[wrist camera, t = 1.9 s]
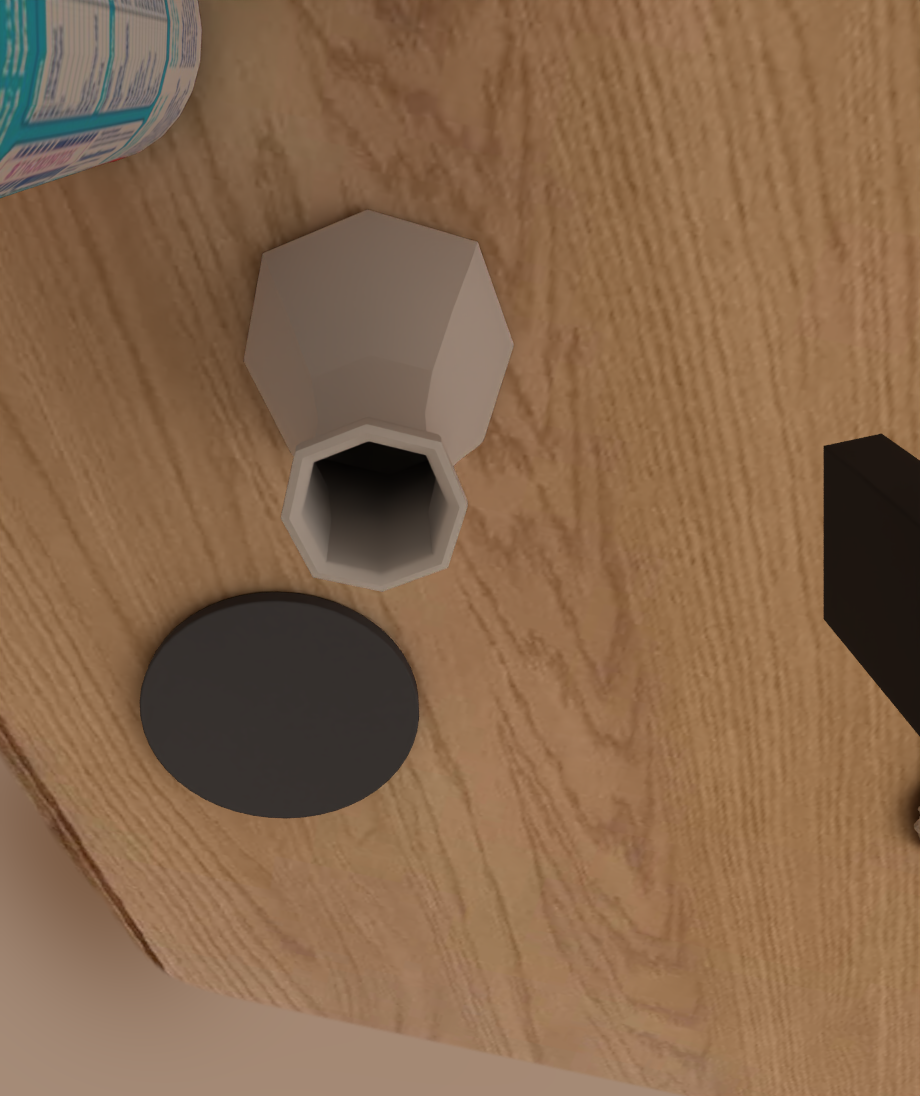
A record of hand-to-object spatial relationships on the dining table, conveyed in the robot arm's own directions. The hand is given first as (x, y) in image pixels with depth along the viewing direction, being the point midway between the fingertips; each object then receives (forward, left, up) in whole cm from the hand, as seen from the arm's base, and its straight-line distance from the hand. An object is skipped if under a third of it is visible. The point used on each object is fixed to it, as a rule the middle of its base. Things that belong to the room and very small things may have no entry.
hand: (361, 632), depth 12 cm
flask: (0, 0, -14) cm, 14 cm away
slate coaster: (+11, -6, -13) cm, 18 cm away
